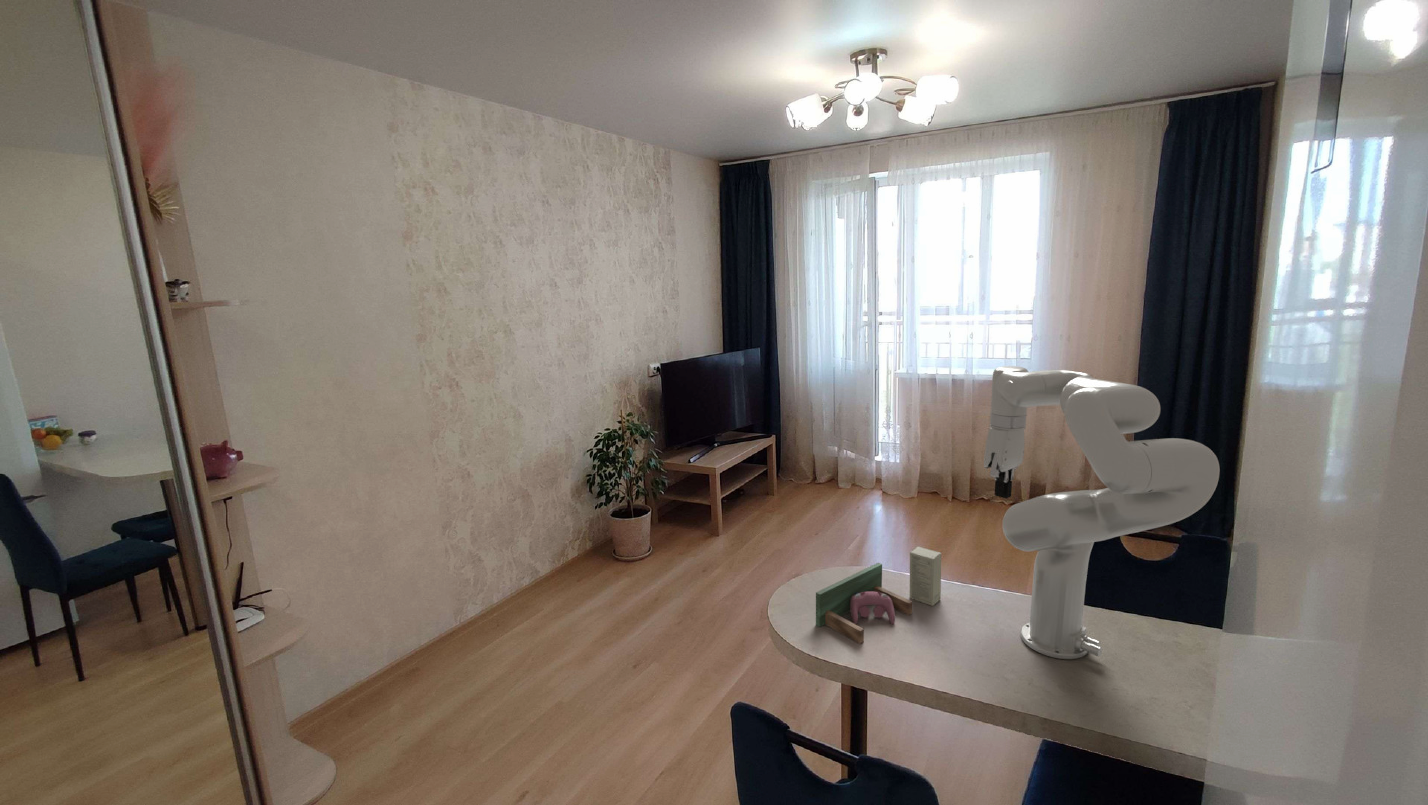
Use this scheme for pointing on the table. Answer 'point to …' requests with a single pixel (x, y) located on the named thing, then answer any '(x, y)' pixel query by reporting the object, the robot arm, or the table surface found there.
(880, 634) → the table surface
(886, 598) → the video game controller
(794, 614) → the table surface
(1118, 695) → the table surface
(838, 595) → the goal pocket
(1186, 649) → the table surface
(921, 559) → the skincare box
